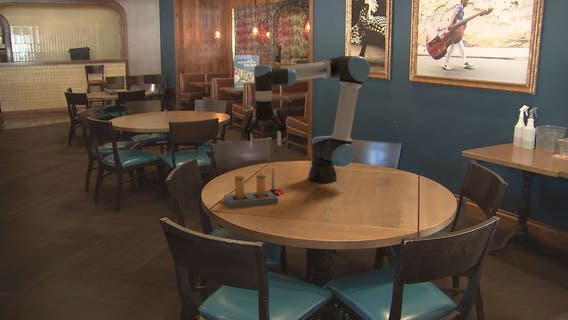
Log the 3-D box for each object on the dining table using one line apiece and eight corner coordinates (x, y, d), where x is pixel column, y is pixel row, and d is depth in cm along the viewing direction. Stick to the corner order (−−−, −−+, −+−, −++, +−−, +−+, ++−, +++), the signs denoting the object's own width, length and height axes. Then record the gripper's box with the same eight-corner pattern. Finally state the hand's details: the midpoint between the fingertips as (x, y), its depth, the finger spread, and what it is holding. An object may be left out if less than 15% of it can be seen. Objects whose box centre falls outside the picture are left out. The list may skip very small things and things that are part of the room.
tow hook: (269, 190, 240) (263, 194, 232) (270, 164, 238) (264, 168, 229) (286, 191, 238) (280, 196, 229) (286, 165, 236) (281, 169, 227)
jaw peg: (265, 199, 224) (265, 174, 222) (266, 202, 220) (265, 176, 218) (256, 199, 224) (256, 174, 221) (257, 202, 220) (256, 176, 217)
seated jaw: (243, 201, 222) (242, 175, 219) (245, 203, 218) (244, 177, 215) (234, 202, 220) (233, 176, 218) (236, 204, 217) (235, 178, 214)
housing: (270, 195, 230) (270, 190, 229) (278, 203, 219) (278, 197, 218) (224, 200, 223) (223, 195, 222) (229, 208, 212) (229, 202, 211)
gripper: (286, 97, 226) (288, 142, 231) (234, 101, 218) (236, 147, 223) (292, 99, 219) (293, 145, 224) (238, 102, 211) (241, 150, 216)
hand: (265, 146), depth 223 cm, fingers open, 13 cm apart
